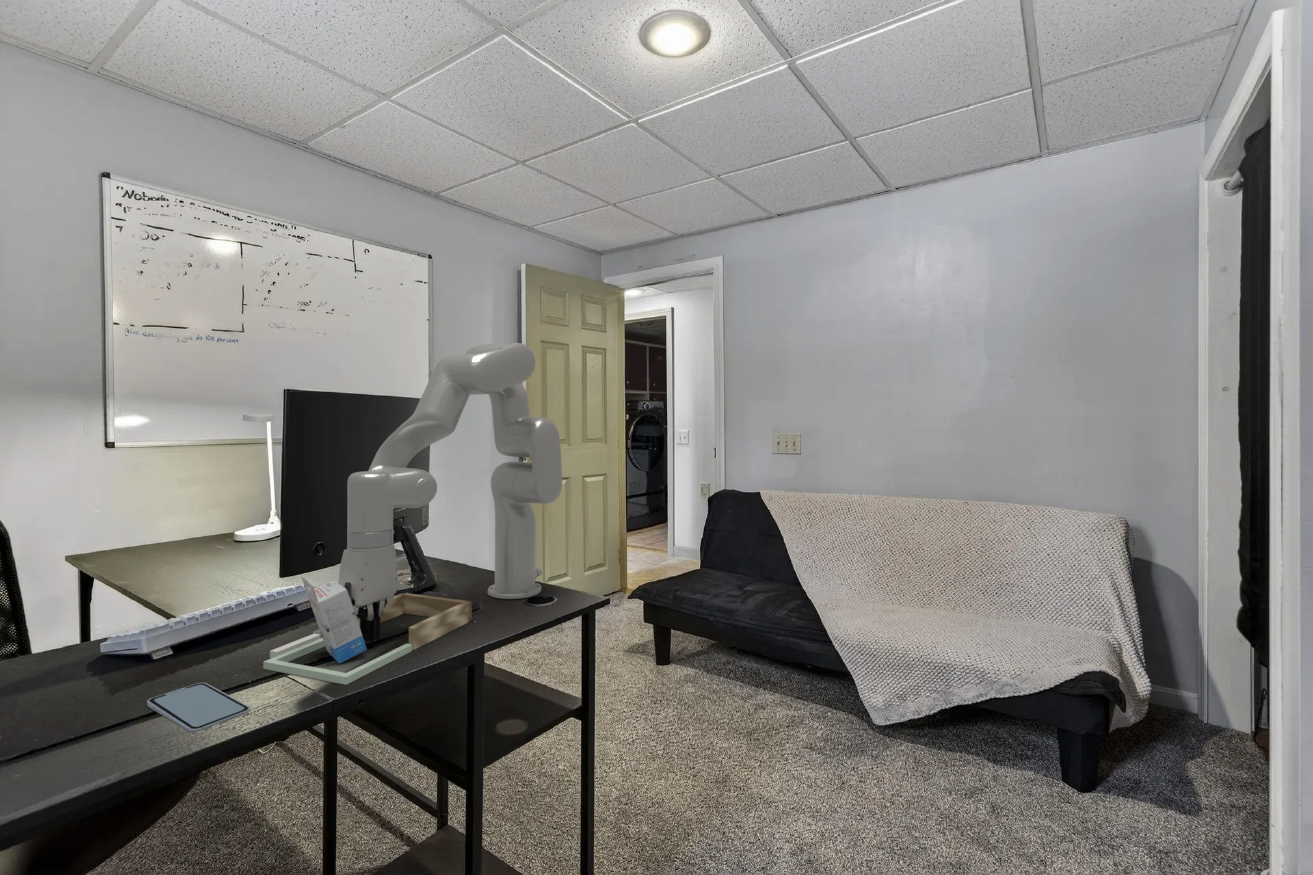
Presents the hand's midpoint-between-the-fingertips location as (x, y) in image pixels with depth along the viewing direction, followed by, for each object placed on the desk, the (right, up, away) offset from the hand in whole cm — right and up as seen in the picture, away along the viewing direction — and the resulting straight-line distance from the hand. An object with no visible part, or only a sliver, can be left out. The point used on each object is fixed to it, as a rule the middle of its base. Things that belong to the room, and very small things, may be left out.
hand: (370, 639), depth 109 cm
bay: (-2, -1, -6) cm, 6 cm away
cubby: (+3, -1, +9) cm, 10 cm away
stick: (-12, -2, -2) cm, 13 cm away
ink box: (-2, -1, -4) cm, 4 cm away
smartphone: (-13, -2, -24) cm, 27 cm away
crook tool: (-9, -1, +10) cm, 13 cm away
